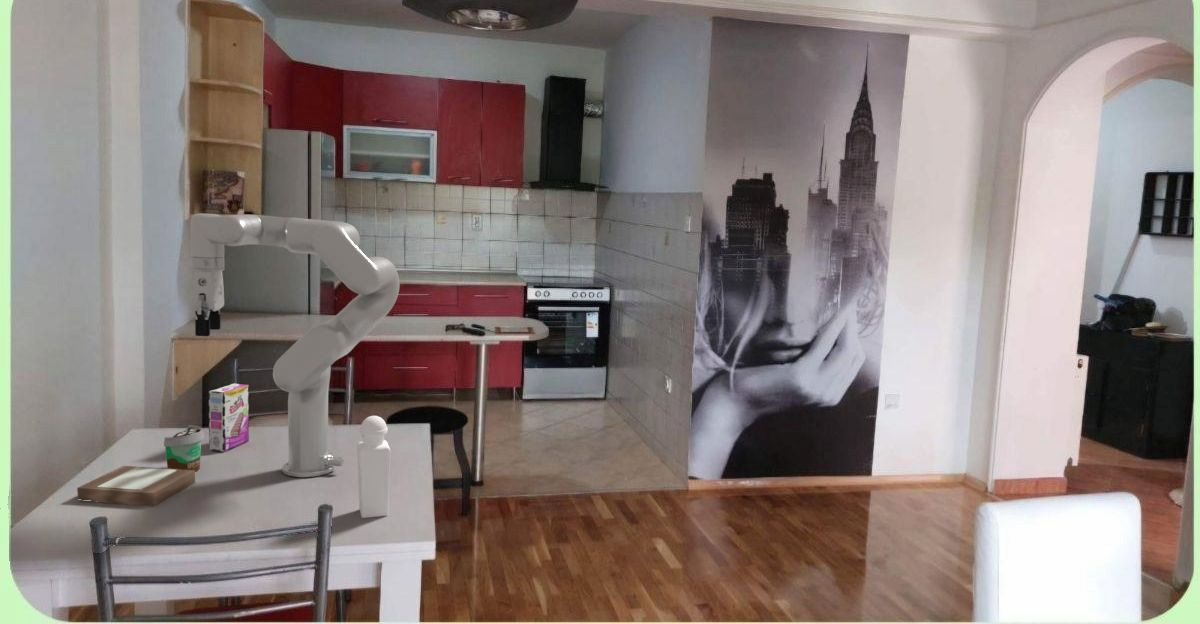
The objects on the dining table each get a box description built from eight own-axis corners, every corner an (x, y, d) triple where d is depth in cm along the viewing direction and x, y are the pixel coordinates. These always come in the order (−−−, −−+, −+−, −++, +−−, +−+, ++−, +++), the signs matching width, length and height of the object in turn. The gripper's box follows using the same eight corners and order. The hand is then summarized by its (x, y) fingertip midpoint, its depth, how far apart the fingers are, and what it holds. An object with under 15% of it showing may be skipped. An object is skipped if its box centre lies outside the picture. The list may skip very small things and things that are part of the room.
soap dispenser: (390, 516, 188) (390, 419, 185) (359, 519, 186) (359, 420, 183) (387, 506, 194) (387, 411, 191) (357, 508, 192) (356, 413, 189)
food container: (190, 479, 207) (188, 439, 206) (164, 478, 207) (163, 438, 206) (214, 463, 219) (212, 425, 218) (190, 462, 219) (189, 424, 218)
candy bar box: (225, 452, 228) (223, 392, 226) (208, 451, 229) (207, 391, 227) (250, 441, 239) (249, 383, 237) (234, 439, 240) (233, 382, 238)
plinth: (195, 482, 205) (194, 469, 204) (154, 506, 189) (154, 492, 188) (123, 477, 206) (123, 464, 206) (77, 500, 190) (77, 487, 190)
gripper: (214, 268, 203) (214, 339, 205) (232, 261, 220) (232, 327, 222) (180, 266, 202) (181, 338, 204) (201, 260, 219) (202, 326, 221)
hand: (208, 332), depth 213 cm, fingers open, 9 cm apart
